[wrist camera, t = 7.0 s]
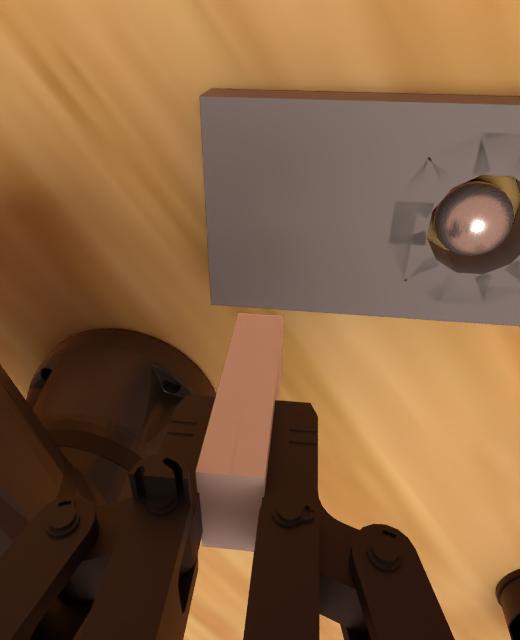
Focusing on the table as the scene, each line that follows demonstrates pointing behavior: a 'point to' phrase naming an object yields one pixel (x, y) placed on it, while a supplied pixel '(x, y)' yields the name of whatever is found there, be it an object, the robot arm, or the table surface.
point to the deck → (354, 202)
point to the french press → (510, 602)
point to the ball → (473, 218)
